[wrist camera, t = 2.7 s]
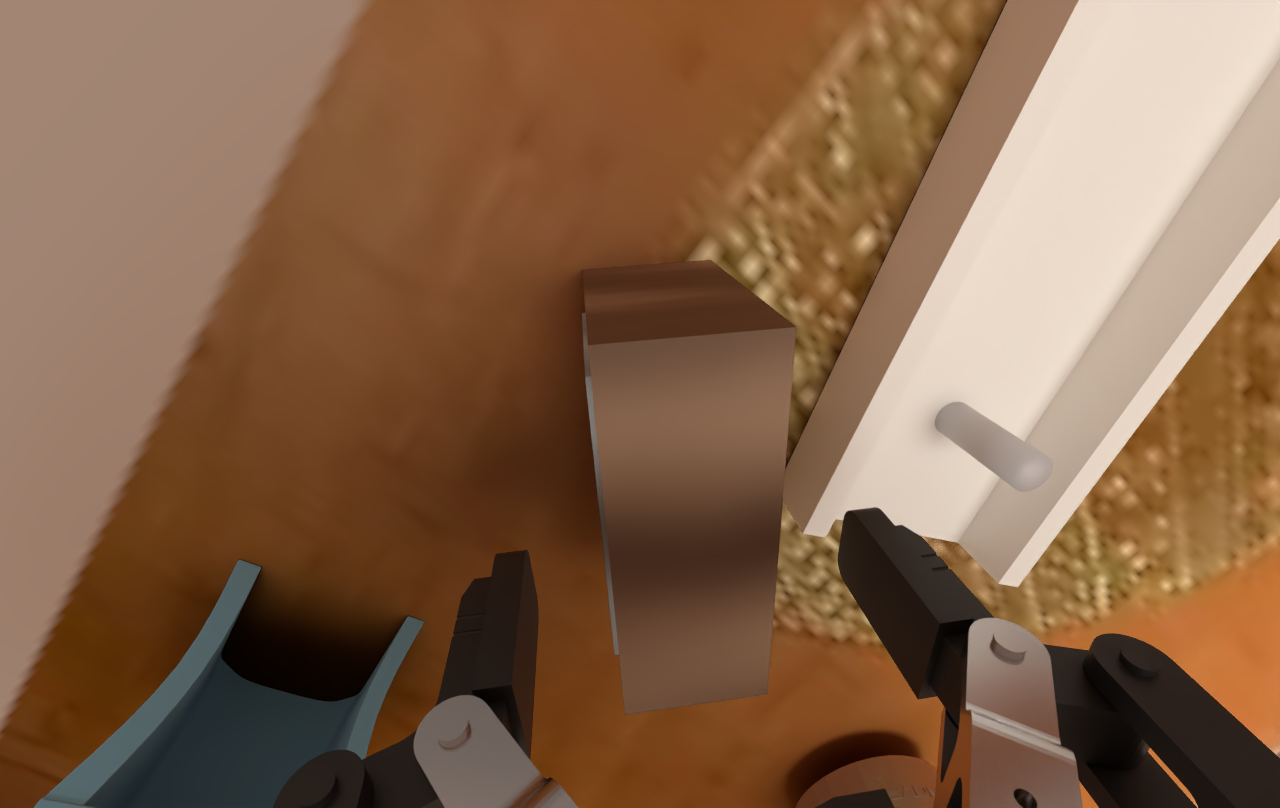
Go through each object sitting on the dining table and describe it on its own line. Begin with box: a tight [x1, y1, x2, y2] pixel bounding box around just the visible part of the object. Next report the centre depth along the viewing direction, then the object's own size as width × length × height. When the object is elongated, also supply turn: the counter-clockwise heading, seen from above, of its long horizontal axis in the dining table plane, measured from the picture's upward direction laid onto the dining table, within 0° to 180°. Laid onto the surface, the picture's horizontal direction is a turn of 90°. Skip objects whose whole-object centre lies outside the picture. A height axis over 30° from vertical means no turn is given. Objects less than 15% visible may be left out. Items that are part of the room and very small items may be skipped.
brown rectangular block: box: [582, 260, 796, 715], centre depth 17 cm, size 12×5×8 cm, turn 3°
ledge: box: [783, 0, 1280, 587], centre depth 16 cm, size 28×10×6 cm, turn 163°
